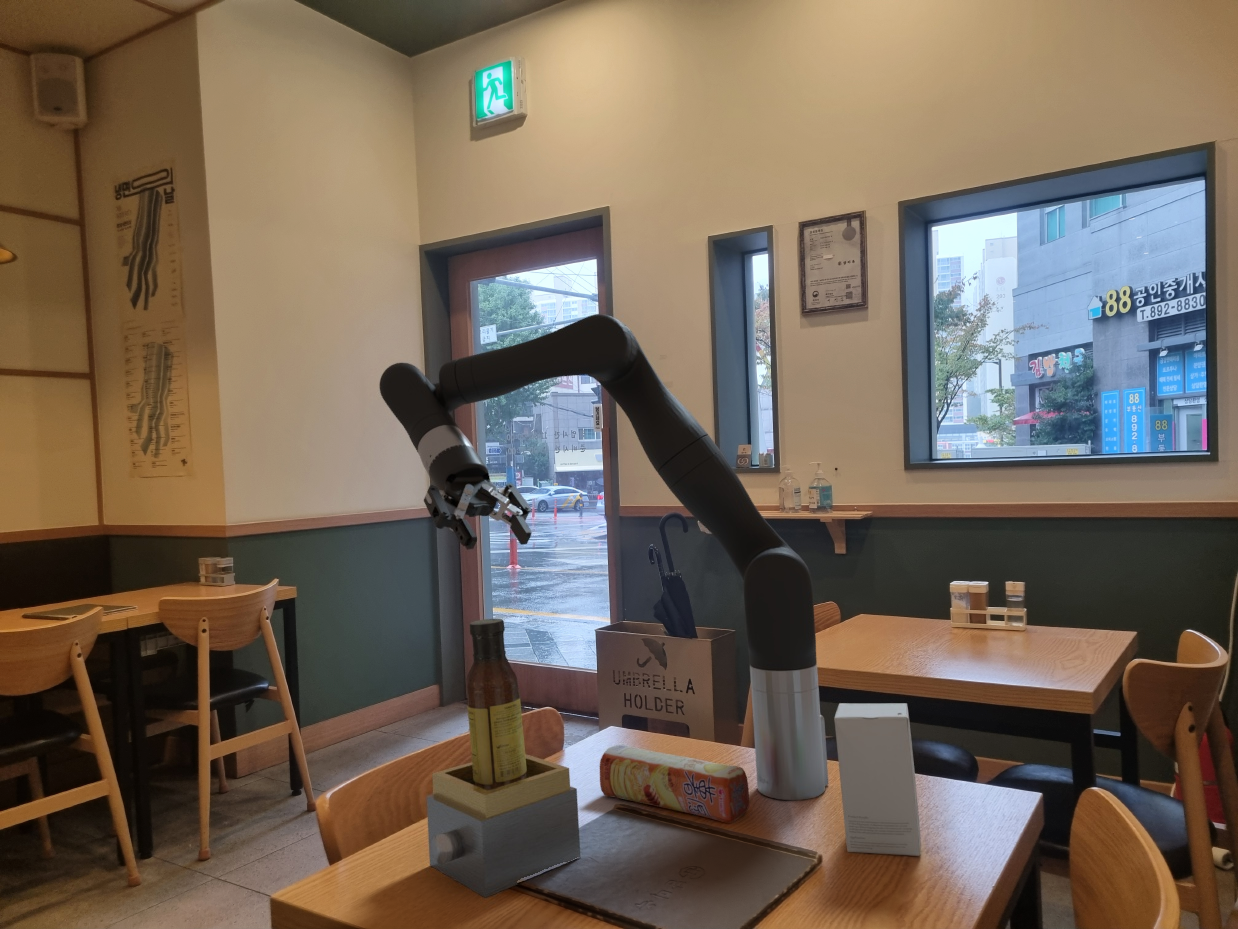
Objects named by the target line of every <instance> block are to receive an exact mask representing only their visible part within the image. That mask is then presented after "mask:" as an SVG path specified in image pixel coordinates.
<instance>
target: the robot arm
mask: <svg viewBox="0 0 1238 929" xmlns="http://www.w3.org/2000/svg"><path fill="white" fill-rule="evenodd" d="M652 365H653V364H652V363H651V362H650V360H649V359H648V357H647V356H646V353H645V352H644V350H643V349H642V347H641V345H640V343H639V342H638V339H637V338H636V336H635V334H634V333H633V332H632V330H631V329H630V328H629V327H628V326H627V325H626V324H624V323H623V322H622V321H620V320H619V319H617V318H616V317H613V316H612V315H608V314H604V313H597V314H596V313H595V314H593V315H592V314H591V315H589V316H587V317H583V318H582V319H579V320H577V321H574V322H572V323H570V324H567V325H566V326H563V327H561V328H559V329H557V330H554V331H552V332H549V333H547V334H544V335H542V336H539V337H536V338H533V339H530V340H528V341H527V340H526V341H523V342H521V343H516V344H513V345H509V346H506V347H503V348H498V349H493V350H489V351H485V352H481V353H476V354H472V355H468V356H465V357H461V358H457V359H452V360H450V361H447V362H445V363H443V364H442V366H441V367H440V368H439V372H438V381H439V382H436V383H435V382H434V383H431V381H430V380H429V379H428V378H427V377H426V376H425V374H424V373H423V372H422V370H420V369H419V368H418V367H417V366H415V365H414V364H412V363H409V362H396V363H393V364H391V365H390V366H388V367H387V368H386V369H385V370H384V371H383V373H382V374H381V377H380V380H379V384H378V385H379V387H378V388H379V393H380V395H381V398H382V400H383V401H384V404H386V406H387V407H388V408H389V410H390V411H391V412H392V414H393V415H394V416H395V418H396V419H397V420H398V422H399V423H400V424H401V425H402V426H403V428H404V430H405V431H406V433H407V435H408V437H409V440H410V441H411V443H412V445H413V447H414V448H415V450H416V452H417V453H418V455H419V458H420V460H421V462H422V465H423V468H424V469H425V472H426V473H427V474H428V476H429V478H430V480H431V481H432V483H433V484H431V485H429V487H428V489H427V491H426V494H425V495H424V497H423V502H424V504H425V507H426V509H427V511H428V513H429V515H430V517H431V519H432V522H433V524H434V526H435V528H437V529H439V530H443V529H444V528H449V530H450V531H452V532H453V533H454V534H455V536H456V538H457V540H458V541H459V543H460V544H461V545H462V546H463V547H465V549H466V550H474V547H475V546H476V544H477V543H478V542H477V541H478V536H477V535H476V533H475V531H474V529H473V528H472V526H471V524H470V523H469V521H468V520H467V518H465V516H468V517H469V518H473V517H477V516H481V517H489V518H491V519H493V520H494V521H496V522H499V521H502V522H504V523H505V524H506V525H509V526H510V527H509V528H510V530H511V531H512V533H513V534H514V536H515V537H516V539H517V541H518V542H519V544H520V546H521V545H523V546H524V545H528V542H529V541H530V539H531V537H532V534H533V533H532V530H531V528H530V526H529V525H528V523H527V521H526V520H527V518H528V517H529V514H530V513H531V511H532V507H531V506H530V505H529V503H528V502H527V501H526V499H525V498H524V497H523V495H522V494H521V493H520V491H519V490H518V488H517V487H516V486H515V484H514V483H512V482H507V483H506V485H505V487H498V486H497V485H495V484H494V483H493V482H492V481H491V478H490V473H489V470H488V468H487V466H486V464H485V463H484V462H483V460H482V458H481V457H480V456H479V453H478V452H477V451H476V449H475V447H474V445H473V444H472V443H471V441H470V440H469V438H468V437H467V436H466V435H465V434H464V432H463V431H462V430H461V429H460V427H459V426H458V424H457V422H456V421H455V419H454V418H453V416H452V415H451V412H454V411H455V410H457V409H458V408H460V407H462V406H464V405H469V404H474V403H477V402H481V401H486V400H490V399H495V398H497V397H502V396H504V395H507V394H511V393H513V392H515V391H517V390H520V389H521V388H522V389H523V388H524V387H526V386H528V385H532V384H535V383H538V382H541V381H544V380H549V379H554V378H561V377H573V376H589V377H591V378H593V379H594V380H595V381H596V382H598V384H600V385H601V387H603V389H604V390H606V393H608V394H609V395H610V396H611V398H612V399H613V400H614V401H615V402H616V404H618V406H619V407H620V409H621V410H622V411H623V413H624V414H625V415H626V417H627V418H628V420H629V422H630V424H631V426H632V428H633V429H634V432H635V434H636V436H637V439H638V441H639V443H640V446H641V447H642V449H643V451H644V453H645V454H646V456H647V457H646V458H648V461H649V462H650V463H651V465H652V467H653V468H654V470H655V472H657V473H658V474H657V475H659V476H660V478H661V479H662V481H663V483H664V484H665V485H666V487H668V489H669V491H670V492H671V493H672V494H673V495H674V497H675V498H676V499H677V500H678V501H679V502H680V504H681V505H683V507H684V508H685V509H686V510H687V511H688V512H689V513H690V515H692V516H693V517H694V518H695V519H696V520H697V522H699V523H700V524H701V525H702V526H703V527H704V528H705V529H706V530H708V531H709V533H711V534H712V535H713V537H715V539H716V540H717V541H718V543H719V544H720V545H721V546H722V547H723V549H724V551H725V552H726V554H727V555H728V556H729V558H730V560H731V561H732V564H733V565H734V566H735V568H736V570H737V571H738V573H739V574H740V576H741V578H742V580H743V601H744V604H743V605H744V615H745V616H744V617H745V627H746V628H745V630H746V631H745V632H746V643H747V650H748V658H749V673H750V674H749V675H750V687H751V688H750V689H751V701H752V702H751V703H752V704H751V705H752V720H753V736H754V738H753V739H754V752H755V768H756V770H755V771H756V784H757V790H758V792H759V793H760V794H762V795H764V796H766V797H769V798H773V799H777V800H785V801H800V800H808V799H813V798H816V797H818V796H821V795H822V794H823V793H824V792H825V791H826V786H828V785H829V768H828V756H827V755H828V754H827V742H826V739H827V738H826V727H825V726H826V725H825V717H824V716H823V715H822V714H821V707H820V706H821V705H820V704H821V703H820V691H819V690H820V689H819V677H818V662H817V661H818V660H817V638H816V637H817V636H816V625H815V611H814V609H815V608H814V607H815V606H814V592H813V582H812V581H813V580H812V577H811V572H810V570H809V567H808V565H807V563H806V562H805V561H804V560H803V558H802V557H801V556H800V555H799V553H796V551H794V550H793V549H792V548H791V546H789V545H788V543H787V542H786V541H785V540H784V539H783V538H782V537H781V536H780V535H779V534H778V533H777V531H775V529H774V528H773V527H772V526H771V525H770V524H769V523H768V522H767V520H766V519H765V518H764V516H763V515H762V514H761V513H760V511H759V510H758V508H757V507H756V505H755V503H754V502H753V500H752V499H751V497H750V495H749V493H748V491H747V489H746V488H745V486H744V485H743V483H742V481H741V480H740V478H739V476H738V475H737V473H736V471H735V469H734V468H733V467H732V466H731V464H730V462H729V461H728V459H727V458H726V456H725V455H724V453H723V452H722V451H721V449H720V447H718V446H717V444H716V443H715V441H714V440H713V439H712V438H711V437H710V435H709V433H708V432H707V431H706V430H705V428H703V426H702V425H701V424H700V423H699V422H698V420H697V419H696V417H694V416H693V414H691V412H690V411H689V410H688V409H687V408H686V406H685V405H683V404H682V402H680V400H679V399H677V397H676V396H675V395H674V394H673V393H672V392H671V391H670V389H668V387H666V385H665V384H664V382H663V380H661V378H660V377H659V375H658V373H657V372H656V370H655V369H654V367H653V366H652ZM497 503H499V504H500V507H499V508H498V510H495V508H496V506H497ZM447 505H448V506H450V507H452V508H454V511H453V513H450V511H449V508H448V506H447ZM506 511H507V512H508V513H510V514H512V515H511V516H510V515H508V514H507V513H506Z"/></svg>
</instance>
